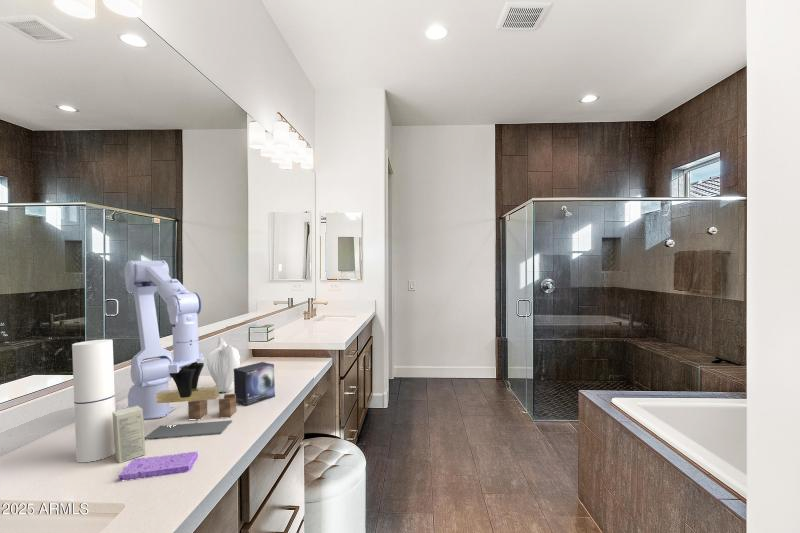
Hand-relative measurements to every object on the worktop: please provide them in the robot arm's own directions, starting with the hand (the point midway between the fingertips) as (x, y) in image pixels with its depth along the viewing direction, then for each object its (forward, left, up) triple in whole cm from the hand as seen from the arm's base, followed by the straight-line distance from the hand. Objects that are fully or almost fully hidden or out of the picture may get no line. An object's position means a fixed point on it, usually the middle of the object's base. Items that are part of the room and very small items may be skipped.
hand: (188, 395), depth 101 cm
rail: (0, 0, -1) cm, 1 cm away
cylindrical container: (-15, -11, -9) cm, 21 cm away
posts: (+2, +10, -9) cm, 13 cm away
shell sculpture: (-3, +34, -9) cm, 35 cm away
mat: (0, 0, -9) cm, 9 cm away
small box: (+10, +22, -9) cm, 26 cm away
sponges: (+3, -20, -10) cm, 22 cm away
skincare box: (-7, -13, -9) cm, 17 cm away
